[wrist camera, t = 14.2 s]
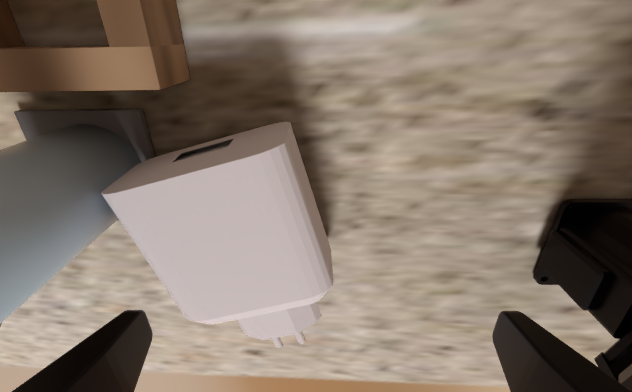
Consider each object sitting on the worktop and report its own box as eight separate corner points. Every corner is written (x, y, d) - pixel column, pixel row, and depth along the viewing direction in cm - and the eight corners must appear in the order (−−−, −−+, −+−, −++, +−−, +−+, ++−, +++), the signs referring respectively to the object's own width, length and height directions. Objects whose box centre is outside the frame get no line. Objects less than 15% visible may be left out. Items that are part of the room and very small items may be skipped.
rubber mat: (142, 108, 18) (138, 110, 17) (170, 216, 21) (168, 219, 20) (20, 110, 18) (13, 111, 17) (66, 217, 21) (62, 220, 21)
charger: (237, 327, 25) (140, 159, 19) (350, 304, 24) (290, 117, 17) (223, 387, 21) (90, 198, 14) (358, 362, 20) (284, 145, 13)
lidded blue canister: (111, 103, 17) (-240, 212, 6) (169, 200, 20) (-12, 392, 9) (20, 138, 18) (-419, 283, 7) (87, 225, 21) (-166, 427, 10)
